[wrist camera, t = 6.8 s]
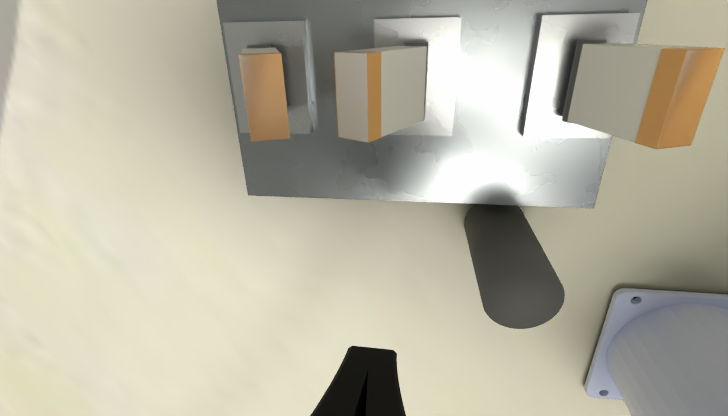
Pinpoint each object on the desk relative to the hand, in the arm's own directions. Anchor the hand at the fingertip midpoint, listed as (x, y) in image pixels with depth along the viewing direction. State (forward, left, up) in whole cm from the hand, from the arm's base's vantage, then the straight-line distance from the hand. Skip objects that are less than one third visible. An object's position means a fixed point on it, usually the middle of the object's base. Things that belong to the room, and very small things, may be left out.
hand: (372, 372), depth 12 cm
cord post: (-5, 0, -10) cm, 12 cm away
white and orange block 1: (-1, -7, -7) cm, 10 cm away
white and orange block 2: (-7, -7, -7) cm, 12 cm away
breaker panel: (-1, -7, -10) cm, 13 cm away
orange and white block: (+5, -7, -7) cm, 11 cm away
